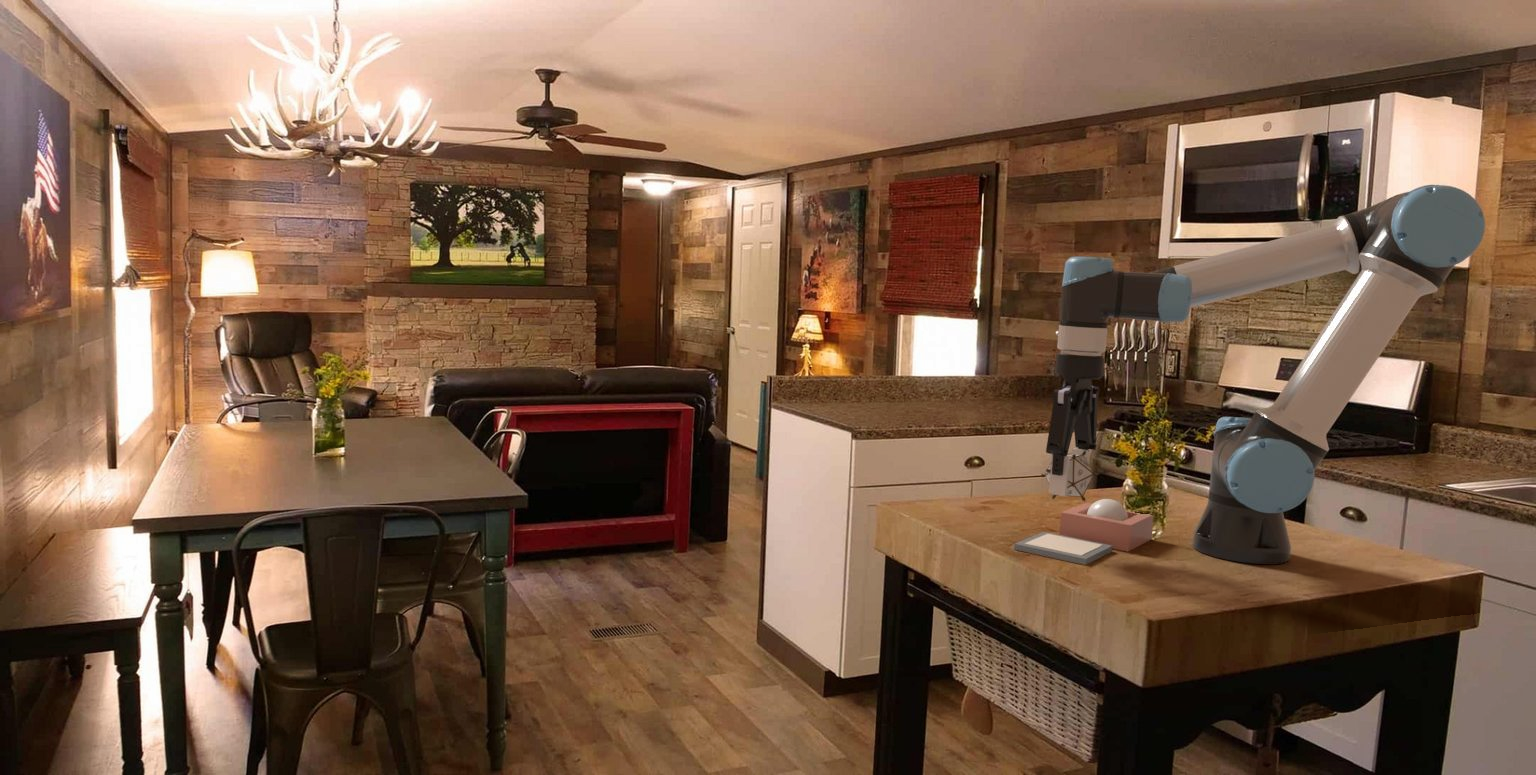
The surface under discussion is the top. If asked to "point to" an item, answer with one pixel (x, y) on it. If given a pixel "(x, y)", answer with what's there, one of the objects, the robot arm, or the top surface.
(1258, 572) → the top surface
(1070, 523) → the pink open box
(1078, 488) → the game die
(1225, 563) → the top surface
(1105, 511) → the white ball
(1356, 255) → the robot arm
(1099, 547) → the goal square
